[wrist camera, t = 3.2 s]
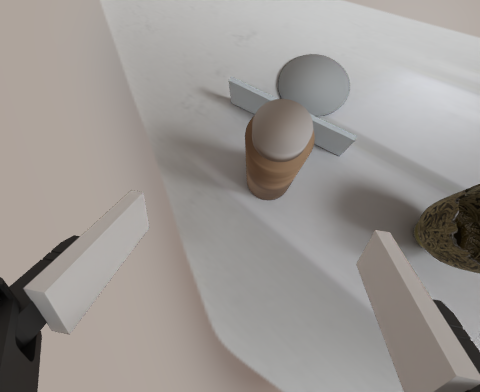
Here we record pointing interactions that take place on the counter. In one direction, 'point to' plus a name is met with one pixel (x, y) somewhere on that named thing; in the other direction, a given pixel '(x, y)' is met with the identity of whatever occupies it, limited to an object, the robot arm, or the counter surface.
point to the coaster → (315, 83)
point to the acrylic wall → (323, 130)
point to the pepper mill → (277, 147)
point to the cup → (453, 230)
